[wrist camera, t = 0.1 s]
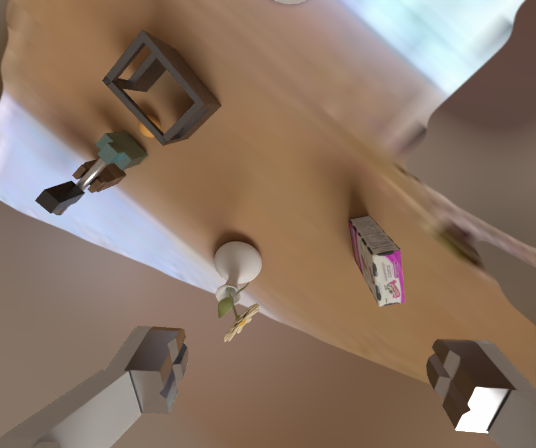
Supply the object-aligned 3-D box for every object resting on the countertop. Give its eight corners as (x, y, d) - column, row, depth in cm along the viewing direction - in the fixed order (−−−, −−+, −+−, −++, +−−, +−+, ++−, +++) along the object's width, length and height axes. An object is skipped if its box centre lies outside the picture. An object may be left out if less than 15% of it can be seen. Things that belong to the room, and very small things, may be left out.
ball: (142, 115, 51) (132, 115, 48) (162, 115, 51) (153, 115, 47) (146, 136, 53) (136, 138, 49) (165, 136, 53) (157, 138, 49)
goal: (187, 138, 53) (163, 145, 42) (142, 87, 49) (101, 80, 38) (221, 105, 50) (204, 103, 39) (175, 49, 47) (142, 29, 36)
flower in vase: (236, 285, 66) (211, 377, 44) (206, 254, 63) (163, 334, 40) (277, 260, 63) (274, 345, 40) (248, 225, 60) (227, 296, 37)
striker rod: (93, 210, 59) (41, 237, 46) (71, 190, 57) (11, 213, 45) (148, 154, 53) (106, 168, 41) (125, 131, 52) (73, 137, 39)
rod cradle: (117, 183, 57) (93, 194, 50) (99, 165, 56) (70, 174, 48) (126, 174, 56) (102, 184, 49) (107, 156, 55) (79, 163, 47)
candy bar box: (376, 256, 61) (406, 303, 46) (354, 260, 62) (377, 308, 47) (370, 213, 57) (402, 249, 42) (347, 218, 58) (371, 256, 43)
